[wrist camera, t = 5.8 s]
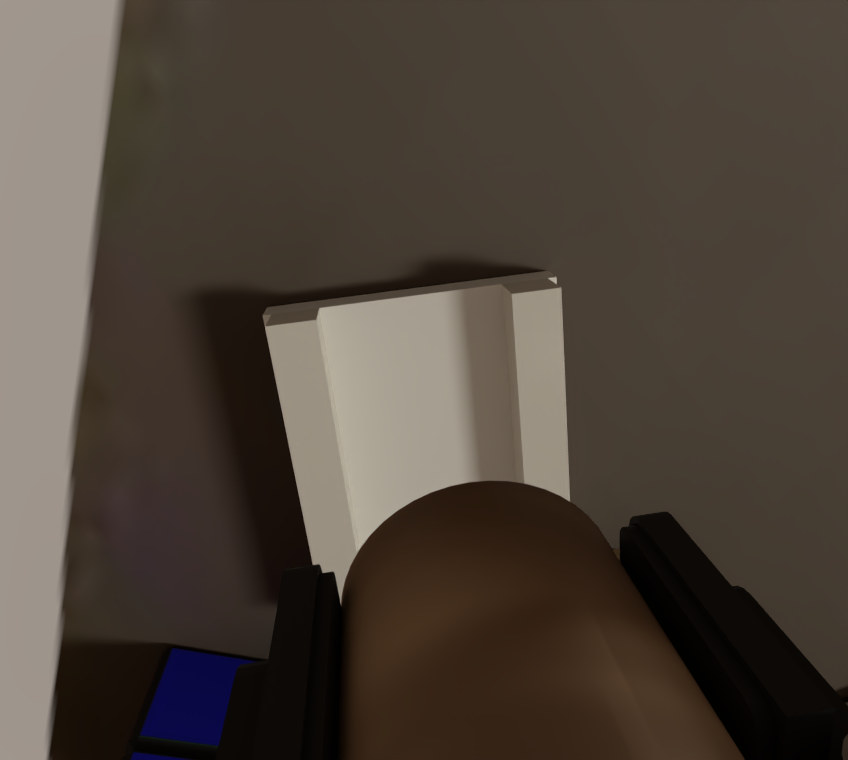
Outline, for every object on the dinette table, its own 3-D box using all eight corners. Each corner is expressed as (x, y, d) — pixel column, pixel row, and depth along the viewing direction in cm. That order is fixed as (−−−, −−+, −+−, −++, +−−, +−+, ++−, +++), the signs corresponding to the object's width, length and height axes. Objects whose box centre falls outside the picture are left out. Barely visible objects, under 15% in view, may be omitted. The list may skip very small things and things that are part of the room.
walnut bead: (616, 460, 10) (884, 787, 5) (618, 689, 12) (824, 1116, 7) (319, 504, 10) (278, 894, 5) (362, 732, 12) (368, 1209, 6)
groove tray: (561, 573, 28) (582, 617, 25) (327, 609, 27) (323, 658, 25) (546, 270, 24) (570, 286, 21) (267, 307, 23) (255, 327, 20)
